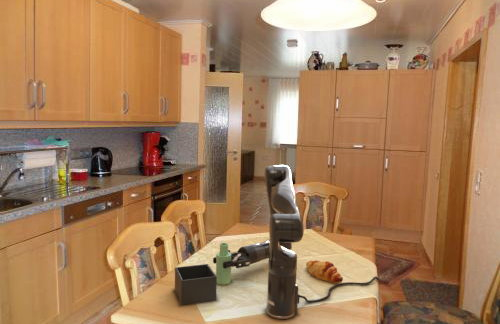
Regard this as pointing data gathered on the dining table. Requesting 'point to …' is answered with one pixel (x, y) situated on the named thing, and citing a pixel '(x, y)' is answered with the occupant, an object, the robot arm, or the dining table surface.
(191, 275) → the bin
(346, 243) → the dining table surface
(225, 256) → the bottle
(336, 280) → the croissant
